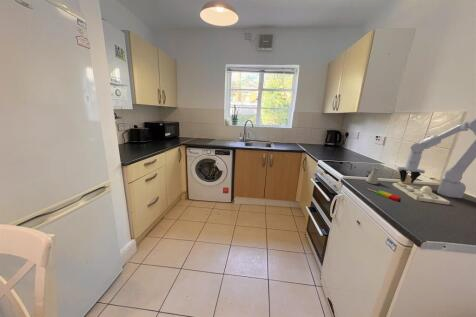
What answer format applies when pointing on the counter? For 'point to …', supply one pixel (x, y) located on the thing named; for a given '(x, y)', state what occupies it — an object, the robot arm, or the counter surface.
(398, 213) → the counter surface
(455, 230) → the counter surface
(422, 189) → the egg
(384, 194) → the popsicle
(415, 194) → the egg box
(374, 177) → the flask
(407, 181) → the egg
